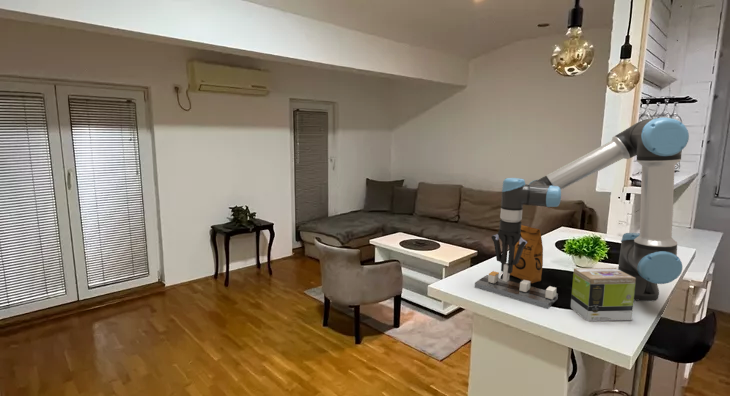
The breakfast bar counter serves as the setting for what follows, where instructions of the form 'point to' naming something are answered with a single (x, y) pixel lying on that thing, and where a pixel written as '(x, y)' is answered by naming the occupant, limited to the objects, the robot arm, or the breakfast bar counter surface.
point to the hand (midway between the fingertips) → (505, 280)
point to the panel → (516, 292)
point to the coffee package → (529, 256)
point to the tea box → (602, 294)
